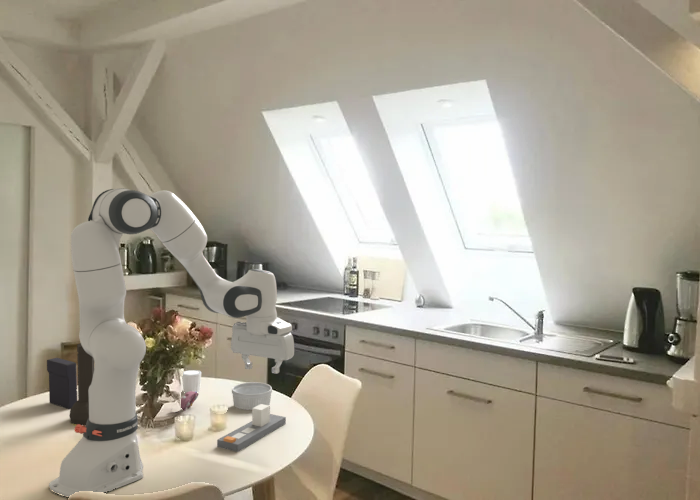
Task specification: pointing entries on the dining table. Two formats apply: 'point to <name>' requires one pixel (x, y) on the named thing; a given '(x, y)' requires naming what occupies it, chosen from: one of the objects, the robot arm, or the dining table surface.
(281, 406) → the dining table surface
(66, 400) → the dark blue lidded box
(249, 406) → the ramekin
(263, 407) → the charger
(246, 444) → the power strip
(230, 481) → the dining table surface
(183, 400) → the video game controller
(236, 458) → the dining table surface
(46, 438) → the dining table surface
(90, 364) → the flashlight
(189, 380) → the white cup
